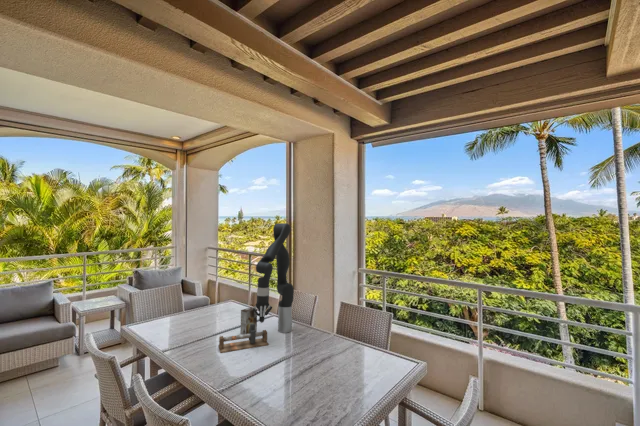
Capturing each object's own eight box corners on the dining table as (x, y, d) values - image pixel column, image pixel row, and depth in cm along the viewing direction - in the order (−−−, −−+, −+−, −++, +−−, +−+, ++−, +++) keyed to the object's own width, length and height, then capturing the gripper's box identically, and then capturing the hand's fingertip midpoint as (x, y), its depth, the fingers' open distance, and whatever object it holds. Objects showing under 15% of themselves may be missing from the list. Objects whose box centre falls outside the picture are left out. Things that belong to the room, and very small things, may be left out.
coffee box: (250, 330, 198) (251, 306, 198) (256, 332, 194) (257, 308, 194) (239, 333, 190) (240, 309, 191) (245, 336, 186) (246, 311, 187)
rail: (264, 339, 182) (264, 328, 183) (268, 345, 174) (268, 333, 174) (218, 346, 170) (218, 334, 170) (220, 353, 161) (221, 340, 161)
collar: (252, 338, 178) (253, 322, 178) (255, 342, 172) (255, 326, 172) (248, 339, 177) (249, 323, 177) (251, 343, 170) (251, 326, 171)
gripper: (271, 292, 184) (270, 319, 183) (251, 293, 179) (249, 321, 178) (274, 294, 178) (273, 322, 177) (253, 296, 172) (252, 325, 171)
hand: (261, 322), depth 177 cm, fingers closed
